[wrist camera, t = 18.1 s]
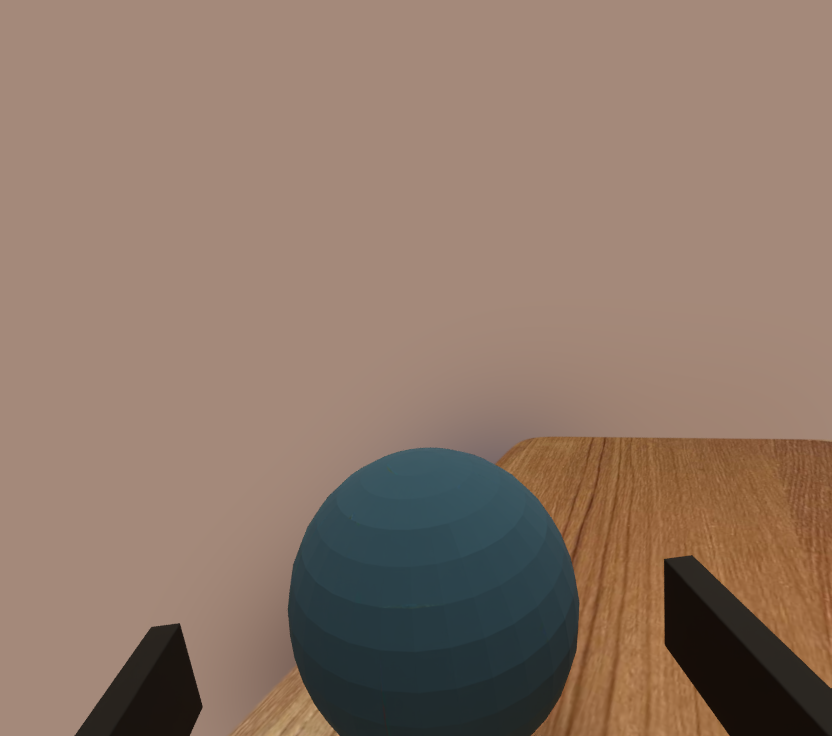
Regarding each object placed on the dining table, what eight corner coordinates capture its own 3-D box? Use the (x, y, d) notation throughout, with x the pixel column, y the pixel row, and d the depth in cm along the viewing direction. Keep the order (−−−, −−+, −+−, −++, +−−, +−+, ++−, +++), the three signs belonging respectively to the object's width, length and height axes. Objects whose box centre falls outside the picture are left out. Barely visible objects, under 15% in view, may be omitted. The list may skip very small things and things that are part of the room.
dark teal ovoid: (580, 693, 18) (565, 408, 15) (607, 1039, 10) (585, 570, 7) (384, 664, 20) (343, 414, 18) (282, 921, 12) (183, 539, 10)
